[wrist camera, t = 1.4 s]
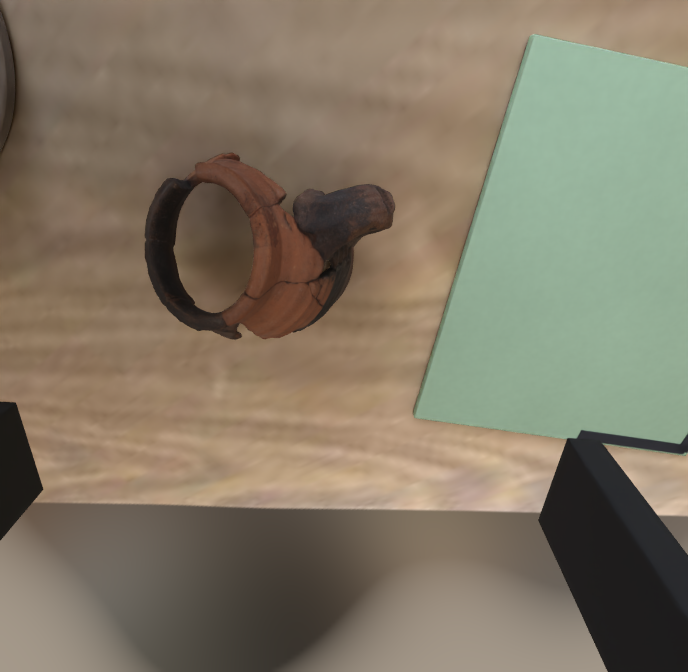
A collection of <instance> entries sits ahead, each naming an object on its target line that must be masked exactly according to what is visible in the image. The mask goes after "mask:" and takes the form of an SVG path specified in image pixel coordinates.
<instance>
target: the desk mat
mask: <svg viewBox="0 0 688 672" xmlns="http://www.w3.org/2000/svg"><path fill="white" fill-rule="evenodd" d="M413 415H414V418H418V419H425V420H432V421H440V422H447V423H454V424H461V425H468V426H475V427H482V428H490V429H497V430H504V431H511V432H518V433H525V434H532V435H539V436H547V437H554V438H561V439H567V438H577V439H593V440H600V441H601V442H602V444H604V445H611V446H618V447H625V448H632V449H639V450H646V451H654V452H661V453H668V454H675V455H682V456H686V455H687V453H688V67H684V66H679V65H675V64H670V63H665V62H661V61H656V60H652V59H647V58H642V57H638V56H633V55H629V54H624V53H619V52H615V51H610V50H606V49H601V48H596V47H592V46H587V45H582V44H578V43H573V42H569V41H564V40H559V39H555V38H550V37H546V36H541V35H536V34H534V35H531V36H530V37H529V40H528V43H527V47H526V50H525V53H524V56H523V59H522V63H521V66H520V69H519V72H518V76H517V79H516V82H515V85H514V88H513V92H512V95H511V98H510V101H509V105H508V108H507V111H506V114H505V118H504V121H503V124H502V127H501V130H500V134H499V137H498V140H497V143H496V147H495V150H494V153H493V156H492V160H491V163H490V166H489V169H488V172H487V176H486V179H485V182H484V185H483V189H482V192H481V195H480V198H479V201H478V205H477V208H476V211H475V214H474V218H473V221H472V224H471V227H470V231H469V234H468V237H467V240H466V243H465V247H464V250H463V253H462V256H461V260H460V263H459V266H458V269H457V272H456V276H455V279H454V282H453V285H452V289H451V292H450V295H449V298H448V302H447V305H446V308H445V311H444V314H443V318H442V321H441V324H440V327H439V331H438V334H437V337H436V340H435V343H434V347H433V350H432V353H431V356H430V360H429V363H428V366H427V369H426V373H425V376H424V379H423V382H422V385H421V389H420V392H419V395H418V398H417V402H416V405H415V408H414V411H413Z"/></svg>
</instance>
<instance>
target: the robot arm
mask: <svg viewBox="0 0 688 672" xmlns="http://www.w3.org/2000/svg"><path fill="white" fill-rule="evenodd" d="M14 102H15V73H14V64H13V56H12V51H11V46H10V41H9V37H8V33H7V30H6V26H5V22H4V19H3V16H2V13H1V10H0V151H1V149H2V147H3V145H4V143H5V141H6V139H7V136H8V133H9V129H10V126H11V122H12V117H13V112H14ZM42 490H43V487H42V484H41V480H40V477H39V474H38V471H37V468H36V465H35V461H34V458H33V455H32V452H31V449H30V446H29V443H28V439H27V436H26V433H25V430H24V427H23V424H22V420H21V417H20V414H19V411H18V408H17V405H16V403H14V402H0V540H1V539H2V538H3V536H5V534H6V533H7V532H8V531H9V530H10V528H11V527H12V526H13V525H14V524H15V522H16V521H17V520H18V519H19V517H21V515H22V514H23V513H24V512H25V510H26V509H27V508H28V507H29V506H30V505H31V503H32V502H33V501H34V500H35V499H36V498H37V496H38V495H39V494H40V493H41V492H42ZM539 523H540V525H541V527H542V530H543V532H544V534H545V536H546V538H547V540H548V543H549V545H550V547H551V549H552V551H553V553H554V556H555V558H556V560H557V562H558V564H559V567H560V568H561V571H562V573H563V575H564V577H565V580H566V582H567V584H568V586H569V588H570V591H571V593H572V595H573V597H574V599H575V601H576V603H577V606H578V608H579V610H580V612H581V614H582V617H583V619H584V621H585V623H586V625H587V628H588V630H589V632H590V634H591V636H592V639H593V641H594V643H595V645H596V647H597V649H598V651H599V654H600V656H601V658H602V660H603V662H604V665H605V667H606V669H607V671H608V672H688V555H687V553H686V552H685V551H684V550H683V548H682V547H681V546H680V544H679V543H678V542H677V540H676V539H675V538H674V536H673V535H672V534H671V533H670V531H669V530H668V529H667V527H666V526H665V525H664V523H663V522H662V521H661V520H660V518H659V517H658V516H657V514H656V513H655V512H654V510H653V509H652V508H651V506H650V505H649V504H648V503H647V501H646V500H645V499H644V497H643V496H642V495H641V493H640V492H639V491H638V489H637V488H636V487H635V486H634V484H633V483H632V482H631V480H630V479H629V478H628V476H627V475H626V474H625V473H624V471H623V470H622V469H621V467H620V466H619V465H618V463H617V462H616V461H615V459H614V458H613V457H612V456H611V454H610V453H609V452H608V450H607V449H606V448H605V446H604V445H603V444H602V442H601V441H600V440H593V439H577V438H567V441H566V444H565V447H564V450H563V452H562V455H561V458H560V461H559V464H558V466H557V469H556V472H555V475H554V478H553V480H552V483H551V486H550V489H549V492H548V494H547V497H546V500H545V503H544V506H543V508H542V511H541V514H540V517H539Z"/></svg>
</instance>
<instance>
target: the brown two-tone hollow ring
mask: <svg viewBox="0 0 688 672" xmlns="http://www.w3.org/2000/svg"><path fill="white" fill-rule="evenodd" d="M239 161H240V158H239V156H238V155H235V154H234V153H229V154H226V155H225V154H220V155H217V156H215V157H213V158H212V159H210V160H208V161H207V162H200V163H197V164H196V165H195V170H194V171H193V172H192V173H190V174H189V175H188V177H187V178H186V179H185V180H184V181H183V180H179V179H176V178H167V179H166V180H165V181H164V182H163V184H162V185H161V187H160V188H159V189H158V191H157V193H156V194H155V197H154V200H153V202H152V204H151V206H150V208H149V212H148V215H147V219H146V226H145V238H146V242H145V259H146V262H147V268H148V274H149V277H150V280H151V282H152V285H153V288H154V290H155V292H156V294H157V296H158V297H159V299H160V300H161V302H162V304H163V305H165V306H166V307H167V309H168V310H169V311H170V312H171V313H172V314H173V315H174V316H175V317H176V318H177V319H178V320H179V321H180V322H183V323H184V324H186V325H187V326H189V327H191V328H193V329H196V330H197V331H201V330H208V331H213V332H215V333H217V334H220V335H221V336H223V337H226V338H230V339H234V340H236V339H239V338H241V337H242V335H241V333H239V332H237V327H238V326H239V324H240V323H241V324H243V325H245V326H246V328H247V329H248V330H249V331H252V332H253V333H254V334H255V335H257V336H259V337H261V338H262V339H268V338H280V337H283V336H285V335H288V334H290V333H291V332H296V331H301V330H303V329H305V328H306V327H308V326H310V325H312V324H314V323H315V322H316V321H318V320H319V319H320V318H321V317H323V316H324V315H325V314H326V313H327V311H328V310H329V309H330V307H331V306H332V305H333V304H334V303H335V302H336V301H337V300H338V299H339V298H340V296H341V295H342V294H343V292H344V290H345V288H346V287H347V285H348V282H349V280H350V277H351V274H352V270H353V256H354V248H353V247H354V246H355V245H356V243H357V242H358V241H359V240H360V239H361V238H362V237H363V236H366V235H368V234H372V233H376V232H380V231H382V230H385V229H388V228H390V227H391V226H392V222H393V212H394V210H395V203H394V200H393V197H392V195H391V194H390V192H388V191H386V190H384V189H382V188H380V187H379V186H376V185H370V184H366V185H358V186H354V187H350V188H347V189H343V190H338V191H335V192H332V193H330V194H327V195H325V194H324V193H323V192H322V191H318V190H314V189H307V190H305V191H304V192H303V193H302V194H301V195H299V196H297V197H296V199H295V201H294V203H293V214H294V217H293V216H291V215H290V214H289V213H287V212H286V211H284V210H283V209H282V208H281V207H280V203H282V201H283V200H284V199H285V197H286V195H287V193H286V192H285V191H284V189H283V188H281V187H280V186H279V185H277V184H276V183H275V182H274V181H273V180H271V179H270V178H268V177H267V176H265V175H264V174H263V173H262V172H261V171H259V170H257V169H255V168H252V167H250V166H248V165H246V164H244V163H242V162H239ZM202 182H204V183H214V184H217V185H220V186H222V187H224V188H225V189H227V190H228V191H229V192H230V193H231V194H232V195H233V196H234V197H235V198H236V199H237V201H238V202H239V203H240V205H241V207H242V208H243V209H244V211H245V213H246V214H247V216H248V217H249V219H250V225H251V229H252V234H253V244H254V255H253V258H254V259H253V266H252V271H251V276H250V278H249V281H248V284H247V286H246V288H245V291H244V293H243V294H242V295H241V296H240V298H239V299H238V300H237V301H236V302H235V303H234V304H233V305H232V306H230V307H229V308H227V309H225V310H224V311H222V312H219V313H209V312H206V311H203V310H201V309H199V308H198V307H196V306H195V305H194V304H195V302H194V300H193V299H192V297H190V296H189V295H188V293H187V292H186V290H185V289H184V287H183V285H182V283H181V281H180V278H179V273H178V269H177V263H176V259H175V255H174V250H173V247H174V245H175V239H176V228H177V221H178V217H179V213H180V210H181V207H182V206H183V203H184V201H185V200H186V198H187V197H188V195H189V194H190V192H191V191H192V190H193V189H194V187H195V186H197V185H198V184H200V183H202ZM326 260H327V261H328V260H329V262H330V264H331V265H330V268H328V269H327V270H325V271H324V272H322V271H323V269H324V266H325V261H326Z"/></svg>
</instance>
